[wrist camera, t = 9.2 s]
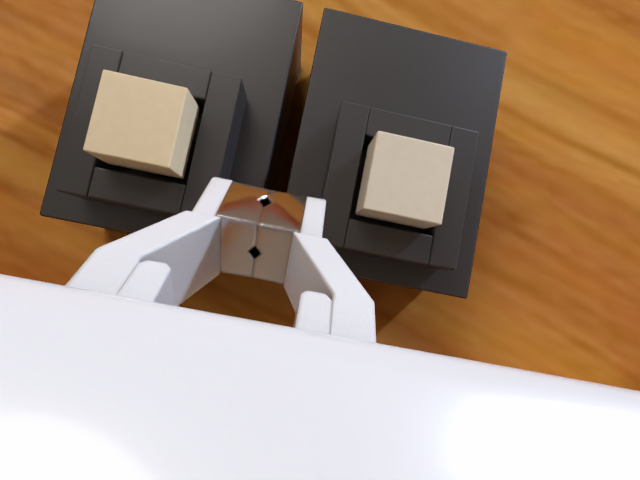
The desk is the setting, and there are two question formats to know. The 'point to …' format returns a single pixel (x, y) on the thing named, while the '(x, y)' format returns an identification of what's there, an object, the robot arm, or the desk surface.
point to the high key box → (204, 85)
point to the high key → (142, 124)
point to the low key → (405, 181)
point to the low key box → (405, 120)
